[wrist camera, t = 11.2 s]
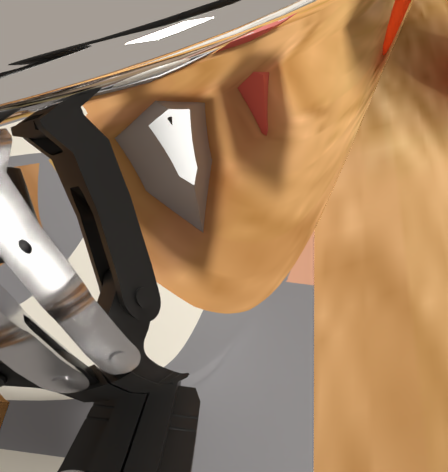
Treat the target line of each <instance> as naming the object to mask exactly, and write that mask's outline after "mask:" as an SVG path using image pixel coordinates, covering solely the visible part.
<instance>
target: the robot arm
mask: <svg viewBox="0 0 448 472" xmlns="http://www.w3.org/2000/svg"><path fill="white" fill-rule="evenodd" d="M199 410H200V399H199V396H198V393H197V390H196V388H193V387H185V386H181V381H179V382H177V383H174V384H172V385H169V386H167V387H164V388H162V389H159V390H156V391H153V392H149V393H146V394H142V395H139V396H135V397H130V398H125V399H118V400H110V401H100V402H94V403H93V406H92V407H91V409H90V411H89V413H88V415H87V418H86V419H85V420H84V422H83V424H82V426H81V428H80V430H79V432H78V434H77V436H76V438H75V440H74V441H73V443H72V445H71V447H70V449H69V451H68V453H67V455H66V457H65V459H64V461H63V463H62V464H61V466H60V468H59V470H58V471H57V472H192V465H193V458H194V451H195V443H196V435H197V427H198V419H199Z"/></svg>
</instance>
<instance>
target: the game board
mask: <svg viewBox="0 0 448 472" xmlns="http://www.w3.org/2000/svg"><path fill="white" fill-rule="evenodd" d="M191 387H193V388H196V390H197V393H198V396H199V399H200V410H199V419H198V427H197V435H196V443H195V451H194V458H193V465H192V472H313V451H314V231H313V233H312V235H311V237H310V239H309V241H308V243H307V244H306V246H305V248H304V250H303V252H302V254H301V256H300V257H299V259H298V261H297V263H296V265H295V267H294V269H293V270H292V272H291V274H290V276H289V278H288V279H287V281H286V282H285V284H284V286H283V287H282V289H281V290H280V292H279V293H278V294H277V296H276V297H275V298H274V300H273V301H272V302H271V304H270V305H269V306H268V307H267V309H266V310H265V311H264V313H263V314H262V315H261V316H260V318H259V319H258V320H257V321H256V323H255V324H254V325H253V326H252V327H251V329H250V330H249V331H248V332H247V333H246V334H245V335H244V336H243V337H242V338H241V339H240V340H239V341H238V342H237V343H236V344H235V345H234V346H233V347H232V348H230V349H229V350H228V351H227V353H226V355H225V356H224V358H223V360H222V361H221V362H220V364H219V365H218V366H217V368H216V369H215V370H214V371H213V372H212V373H211V374H210V375H208V376H207V377H206V378H205V379H203V380H202V381H200V382H199V383H197V384H195V385H193V386H191ZM93 403H94V402H88V403H77V404H60V405H41V404H25V403H13V402H10V403H9V406H8V409H7V412H6V414H5V417H4V420H3V423H2V426H1V428H0V472H57V471H58V470H59V468H60V466H61V464H62V463H63V461H64V459H65V457H66V455H67V453H68V451H69V449H70V447H71V445H72V443H73V441H74V440H75V438H76V436H77V434H78V432H79V430H80V428H81V426H82V424H83V422H84V420H85V419H86V418H87V415H88V413H89V411H90V409H91V407H92V406H93Z"/></svg>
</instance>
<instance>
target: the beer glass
mask: <svg viewBox="0 0 448 472" xmlns="http://www.w3.org/2000/svg"><path fill="white" fill-rule="evenodd" d="M412 3H413V0H0V401H2V402H13V403H25V404H41V405H60V404H77V403H88V402H100V401H110V400H118V399H125V398H130V397H135V396H139V395H142V394H146V393H149V392H153V391H156V390H159V389H162V388H164V387H167V386H169V385H172V384H174V383H177V382H179V381H181V386H185V387H191V386H193V385H195V384H197V383H199V382H200V381H202V380H203V379H205V378H206V377H207V376H208V375H210V374H211V373H212V372H213V371H214V370H215V369H216V368H217V366H218V365H219V364H220V362H221V361H222V360H223V358H224V356H225V355H226V353H227V351H228V350H229V349H230V348H232V347H233V346H234V345H235V344H236V343H237V342H238V341H239V340H240V339H241V338H242V337H243V336H244V335H245V334H246V333H247V332H248V331H249V330H250V329H251V327H252V326H253V325H254V324H255V323H256V321H257V320H258V319H259V318H260V316H261V315H262V314H263V313H264V311H265V310H266V309H267V307H268V306H269V305H270V304H271V302H272V301H273V300H274V298H275V297H276V296H277V294H278V293H279V292H280V290H281V289H282V287H283V286H284V284H285V282H286V281H287V279H288V278H289V276H290V274H291V272H292V270H293V269H294V267H295V265H296V263H297V261H298V259H299V257H300V256H301V254H302V252H303V250H304V248H305V246H306V244H307V243H308V241H309V239H310V237H311V235H312V233H313V231H314V230H315V228H316V226H317V224H318V222H319V220H320V218H321V215H322V213H323V211H324V209H325V206H326V204H327V202H328V200H329V197H330V195H331V193H332V191H333V188H334V186H335V184H336V182H337V179H338V177H339V175H340V173H341V170H342V168H343V166H344V164H345V161H346V159H347V157H348V154H349V152H350V150H351V147H352V145H353V143H354V140H355V138H356V135H357V133H358V130H359V128H360V126H361V123H362V121H363V118H364V116H365V113H366V111H367V109H368V106H369V104H370V101H371V99H372V96H373V94H374V92H375V89H376V87H377V84H378V82H379V79H380V77H381V75H382V72H383V70H384V67H385V65H386V63H387V60H388V58H389V56H390V53H391V51H392V49H393V46H394V44H395V42H396V39H397V37H398V35H399V33H400V30H401V28H402V26H403V23H404V21H405V19H406V16H407V14H408V12H409V9H410V7H411V5H412Z"/></svg>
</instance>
